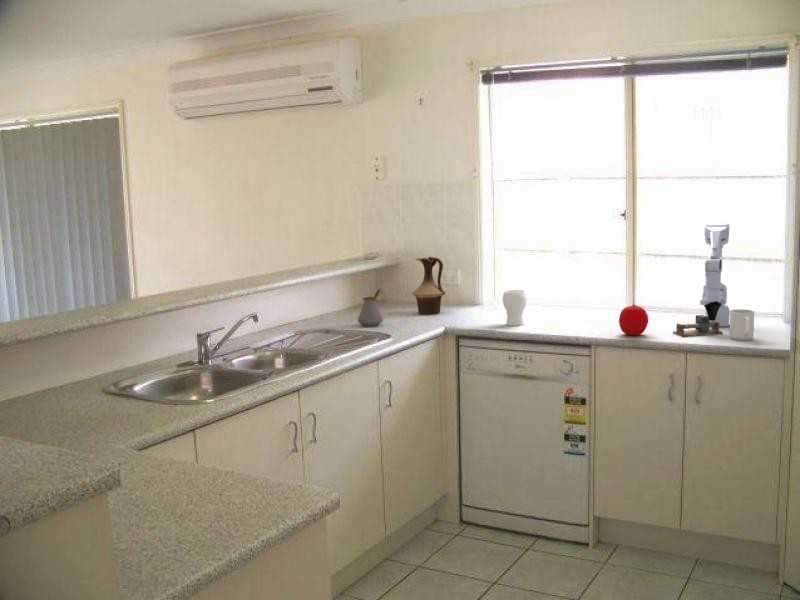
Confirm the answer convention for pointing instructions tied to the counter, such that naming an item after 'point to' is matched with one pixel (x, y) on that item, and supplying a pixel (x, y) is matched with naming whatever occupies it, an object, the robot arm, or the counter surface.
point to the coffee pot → (370, 312)
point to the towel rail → (687, 333)
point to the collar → (702, 323)
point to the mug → (741, 324)
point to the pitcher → (429, 288)
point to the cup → (514, 306)
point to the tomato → (633, 320)
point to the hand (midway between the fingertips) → (712, 320)
